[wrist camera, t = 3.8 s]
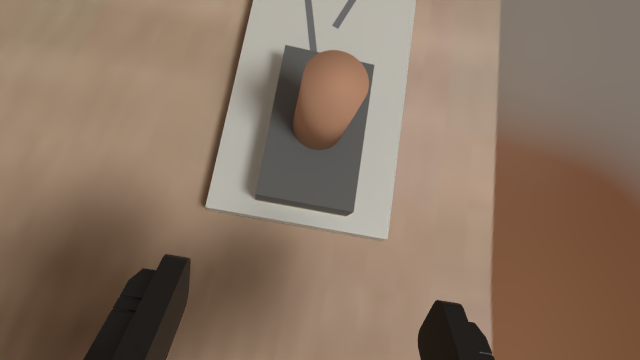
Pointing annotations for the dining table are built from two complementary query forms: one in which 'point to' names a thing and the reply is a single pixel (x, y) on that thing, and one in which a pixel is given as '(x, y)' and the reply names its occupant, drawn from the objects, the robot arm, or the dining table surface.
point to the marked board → (259, 92)
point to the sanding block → (316, 132)
